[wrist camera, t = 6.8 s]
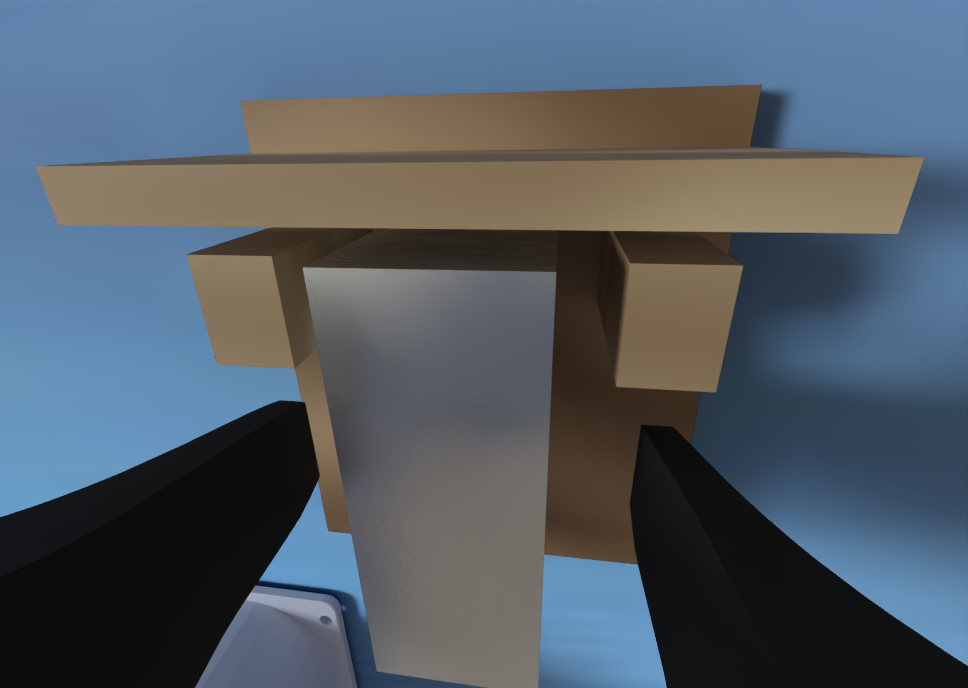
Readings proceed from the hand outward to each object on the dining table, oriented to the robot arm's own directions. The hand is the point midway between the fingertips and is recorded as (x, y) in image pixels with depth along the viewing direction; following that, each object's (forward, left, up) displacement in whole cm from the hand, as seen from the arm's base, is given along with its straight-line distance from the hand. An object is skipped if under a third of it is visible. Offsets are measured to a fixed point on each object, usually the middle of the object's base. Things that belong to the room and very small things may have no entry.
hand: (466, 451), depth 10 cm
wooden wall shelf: (0, 0, -4) cm, 4 cm away
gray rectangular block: (0, 0, -3) cm, 3 cm away
